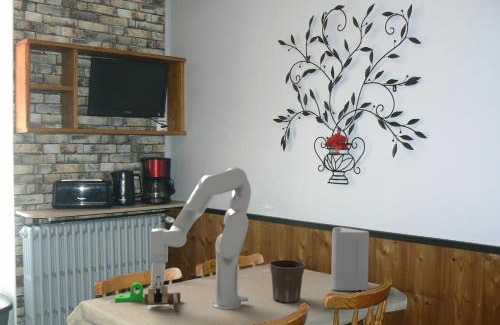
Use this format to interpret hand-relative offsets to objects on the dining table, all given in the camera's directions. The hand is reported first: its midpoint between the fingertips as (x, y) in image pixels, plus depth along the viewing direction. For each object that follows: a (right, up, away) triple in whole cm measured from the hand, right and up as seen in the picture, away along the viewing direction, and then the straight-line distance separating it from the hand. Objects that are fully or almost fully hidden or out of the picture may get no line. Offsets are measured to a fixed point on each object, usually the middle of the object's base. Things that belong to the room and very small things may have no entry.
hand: (157, 300), depth 231 cm
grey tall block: (+85, -3, +37) cm, 93 cm away
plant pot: (+56, -4, +15) cm, 58 cm away
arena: (+2, -3, +1) cm, 4 cm away
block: (0, -1, 0) cm, 1 cm away
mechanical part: (-15, -3, +11) cm, 18 cm away
